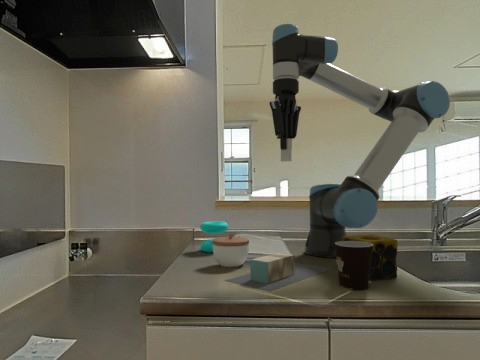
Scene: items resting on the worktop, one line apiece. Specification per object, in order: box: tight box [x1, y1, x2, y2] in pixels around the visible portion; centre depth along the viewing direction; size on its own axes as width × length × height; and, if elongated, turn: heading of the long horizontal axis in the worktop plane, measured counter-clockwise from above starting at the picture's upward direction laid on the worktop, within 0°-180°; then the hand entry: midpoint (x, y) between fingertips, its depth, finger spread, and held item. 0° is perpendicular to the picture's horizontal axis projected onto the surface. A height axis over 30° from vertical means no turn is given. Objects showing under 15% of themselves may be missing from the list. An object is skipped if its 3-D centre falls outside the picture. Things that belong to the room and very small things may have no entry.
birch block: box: [249, 252, 296, 283], centre depth 98 cm, size 5×5×12 cm
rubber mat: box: [224, 262, 332, 292], centre depth 101 cm, size 28×14×1 cm, turn 138°
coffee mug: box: [335, 241, 373, 292], centre depth 92 cm, size 12×9×10 cm
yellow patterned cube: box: [342, 234, 398, 282], centre depth 101 cm, size 10×10×10 cm
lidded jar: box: [211, 233, 250, 268], centre depth 113 cm, size 11×11×9 cm
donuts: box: [199, 220, 229, 253], centre depth 137 cm, size 10×10×10 cm
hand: (286, 161), depth 113 cm, fingers closed
